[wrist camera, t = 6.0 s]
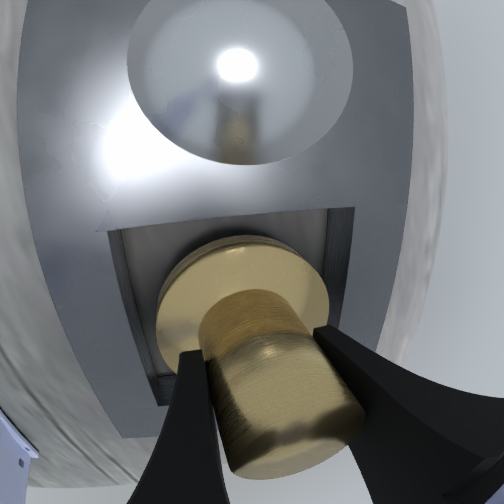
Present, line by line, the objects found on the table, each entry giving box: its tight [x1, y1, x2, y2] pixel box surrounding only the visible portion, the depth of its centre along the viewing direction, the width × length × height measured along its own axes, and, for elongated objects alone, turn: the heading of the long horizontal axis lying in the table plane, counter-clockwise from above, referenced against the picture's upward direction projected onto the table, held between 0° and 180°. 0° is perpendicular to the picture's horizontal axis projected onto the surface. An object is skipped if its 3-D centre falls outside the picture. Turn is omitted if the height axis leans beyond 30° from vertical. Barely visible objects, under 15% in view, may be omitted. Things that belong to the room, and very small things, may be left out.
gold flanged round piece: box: [156, 235, 366, 480], centre depth 9 cm, size 6×6×6 cm
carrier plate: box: [17, 0, 414, 438], centre depth 10 cm, size 20×14×4 cm
